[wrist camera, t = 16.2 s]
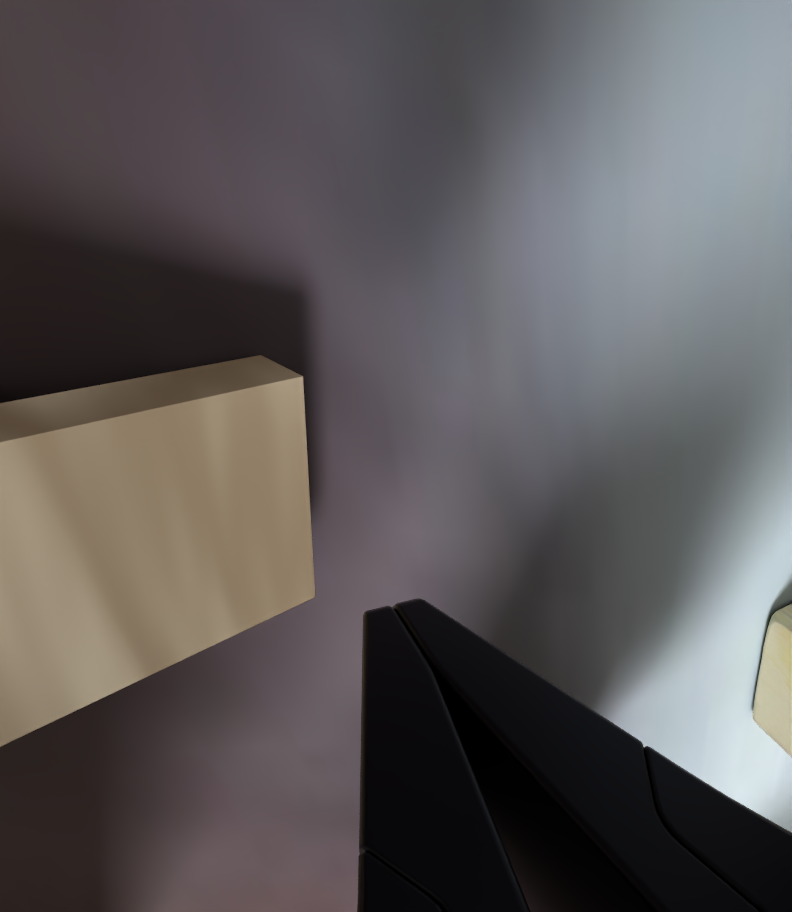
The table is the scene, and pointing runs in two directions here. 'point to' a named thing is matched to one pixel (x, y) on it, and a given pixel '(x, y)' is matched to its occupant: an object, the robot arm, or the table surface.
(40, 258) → the table surface
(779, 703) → the toy refrigerator
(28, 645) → the domino
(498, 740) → the robot arm
